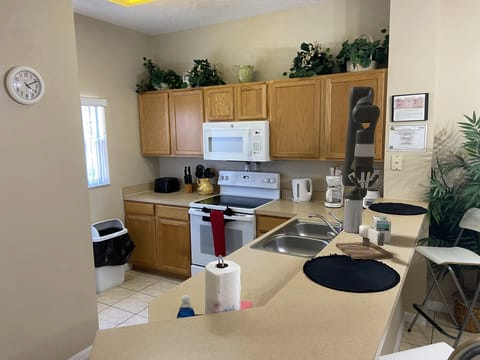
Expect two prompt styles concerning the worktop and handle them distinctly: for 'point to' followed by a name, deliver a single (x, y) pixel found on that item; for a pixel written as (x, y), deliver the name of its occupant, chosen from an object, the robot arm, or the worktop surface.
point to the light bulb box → (382, 226)
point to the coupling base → (363, 250)
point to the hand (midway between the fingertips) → (362, 196)
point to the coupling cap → (371, 234)
